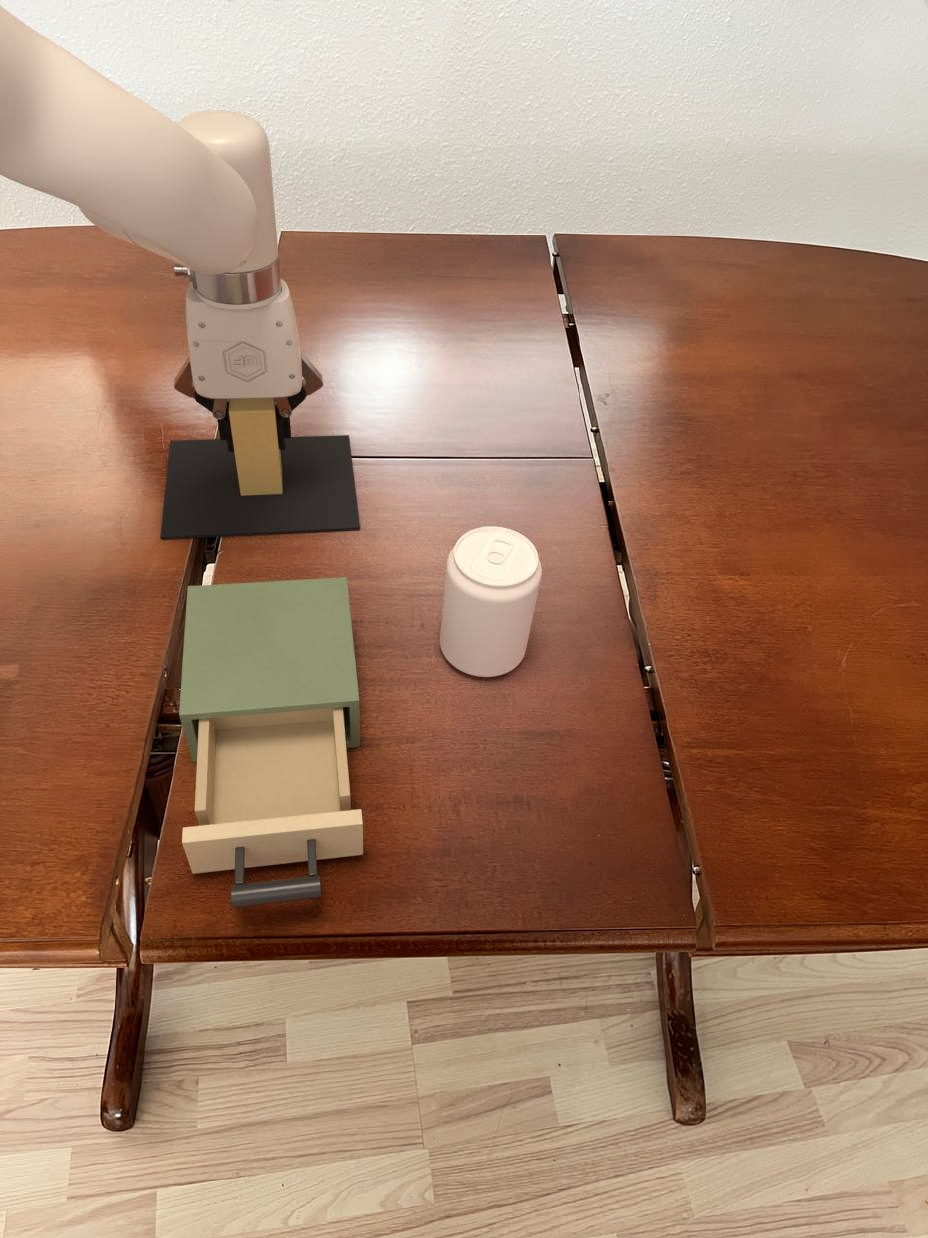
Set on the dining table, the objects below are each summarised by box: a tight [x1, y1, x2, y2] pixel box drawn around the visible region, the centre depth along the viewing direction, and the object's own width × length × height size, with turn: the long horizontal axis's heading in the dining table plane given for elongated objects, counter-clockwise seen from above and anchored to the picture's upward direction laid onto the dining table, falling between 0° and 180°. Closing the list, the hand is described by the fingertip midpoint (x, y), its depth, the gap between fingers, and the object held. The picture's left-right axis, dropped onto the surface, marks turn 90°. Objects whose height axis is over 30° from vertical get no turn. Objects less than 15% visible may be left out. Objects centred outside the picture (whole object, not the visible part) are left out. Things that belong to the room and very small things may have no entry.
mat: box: [160, 434, 361, 541], centre depth 93 cm, size 20×16×1 cm
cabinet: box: [178, 576, 361, 763], centre depth 73 cm, size 14×14×7 cm
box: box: [228, 398, 283, 496], centre depth 89 cm, size 4×4×11 cm
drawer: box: [181, 707, 364, 909], centre depth 64 cm, size 17×12×5 cm
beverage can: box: [439, 525, 543, 678], centre depth 76 cm, size 8×8×12 cm
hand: (256, 441), depth 89 cm, fingers closed on box, 4 cm apart
